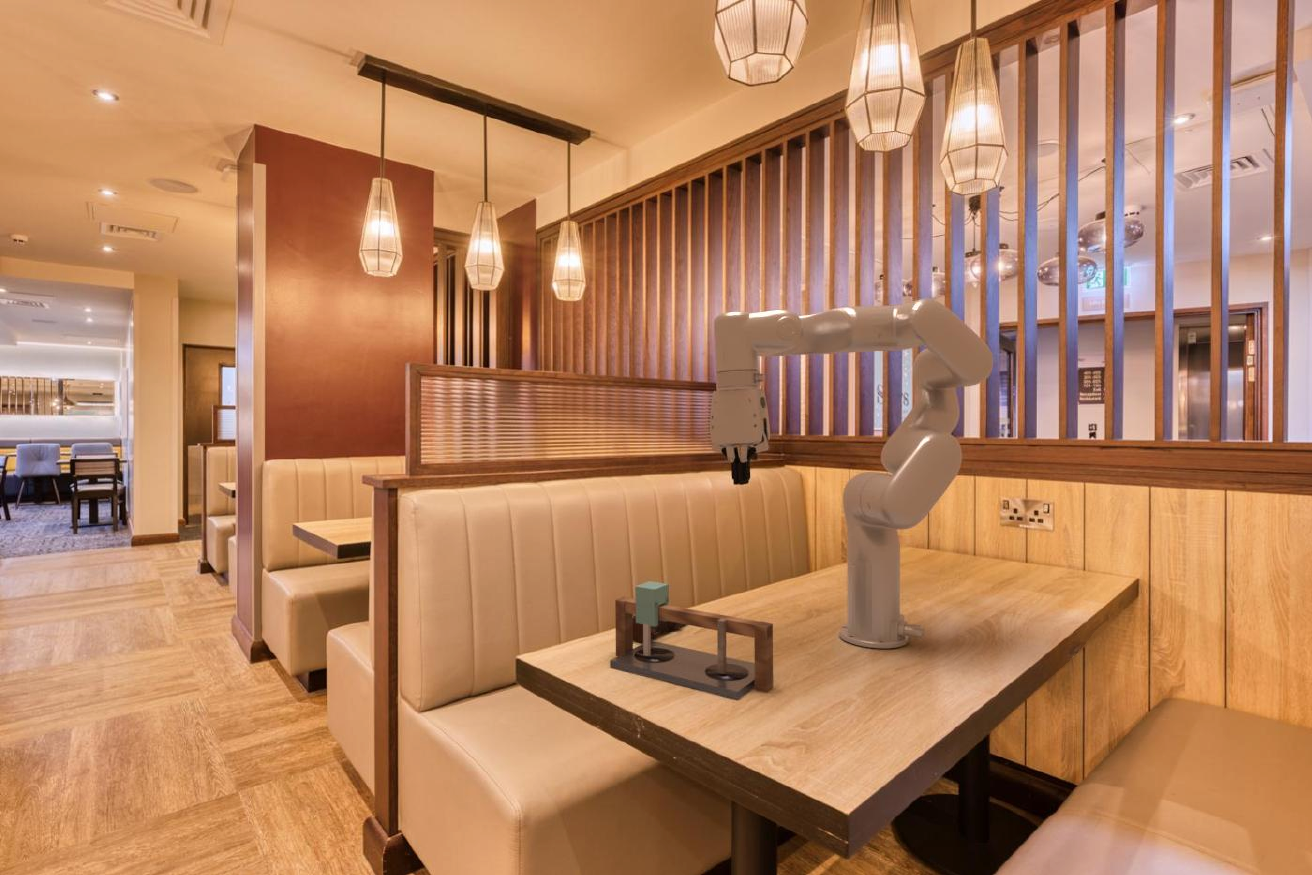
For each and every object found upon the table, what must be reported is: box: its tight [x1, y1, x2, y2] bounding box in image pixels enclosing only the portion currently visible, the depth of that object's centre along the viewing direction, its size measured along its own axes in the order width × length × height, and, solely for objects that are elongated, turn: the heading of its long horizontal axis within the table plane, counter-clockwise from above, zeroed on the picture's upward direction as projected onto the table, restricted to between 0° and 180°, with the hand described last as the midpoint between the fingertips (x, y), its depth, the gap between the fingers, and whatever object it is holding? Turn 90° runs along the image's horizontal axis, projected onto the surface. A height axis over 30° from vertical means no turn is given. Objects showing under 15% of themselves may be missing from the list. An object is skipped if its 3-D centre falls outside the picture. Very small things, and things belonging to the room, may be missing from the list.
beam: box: [614, 596, 774, 693], centre depth 108 cm, size 29×3×10 cm, turn 56°
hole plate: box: [609, 640, 755, 701], centre depth 109 cm, size 24×12×1 cm, turn 56°
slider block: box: [634, 580, 670, 656], centre depth 113 cm, size 4×4×12 cm
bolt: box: [633, 606, 683, 645], centre depth 129 cm, size 6×5×15 cm
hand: (741, 483), depth 118 cm, fingers closed
